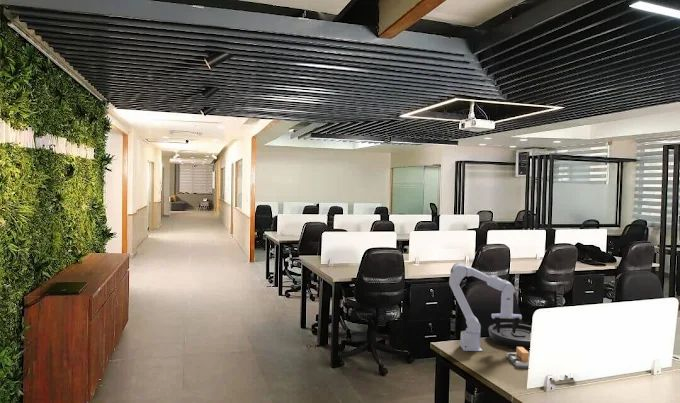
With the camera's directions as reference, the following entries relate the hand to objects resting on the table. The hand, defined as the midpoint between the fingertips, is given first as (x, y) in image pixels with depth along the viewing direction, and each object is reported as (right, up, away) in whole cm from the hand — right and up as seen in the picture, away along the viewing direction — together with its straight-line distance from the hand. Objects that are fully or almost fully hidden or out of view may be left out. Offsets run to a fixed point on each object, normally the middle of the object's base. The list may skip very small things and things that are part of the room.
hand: (505, 332), depth 233 cm
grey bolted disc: (+12, -9, +16) cm, 22 cm away
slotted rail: (+2, -10, -15) cm, 18 cm away
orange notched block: (+2, -9, -15) cm, 17 cm away
